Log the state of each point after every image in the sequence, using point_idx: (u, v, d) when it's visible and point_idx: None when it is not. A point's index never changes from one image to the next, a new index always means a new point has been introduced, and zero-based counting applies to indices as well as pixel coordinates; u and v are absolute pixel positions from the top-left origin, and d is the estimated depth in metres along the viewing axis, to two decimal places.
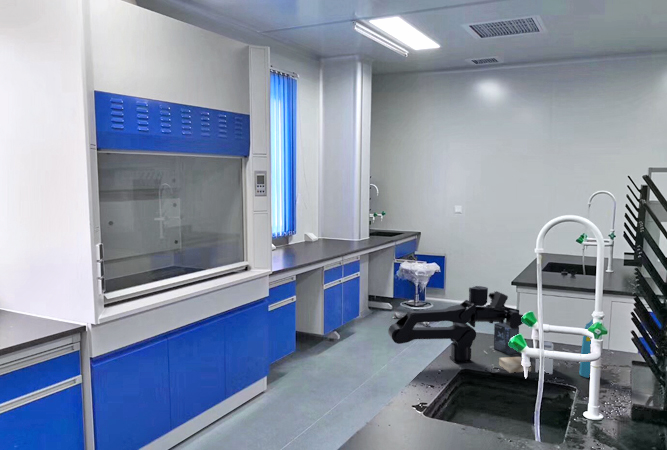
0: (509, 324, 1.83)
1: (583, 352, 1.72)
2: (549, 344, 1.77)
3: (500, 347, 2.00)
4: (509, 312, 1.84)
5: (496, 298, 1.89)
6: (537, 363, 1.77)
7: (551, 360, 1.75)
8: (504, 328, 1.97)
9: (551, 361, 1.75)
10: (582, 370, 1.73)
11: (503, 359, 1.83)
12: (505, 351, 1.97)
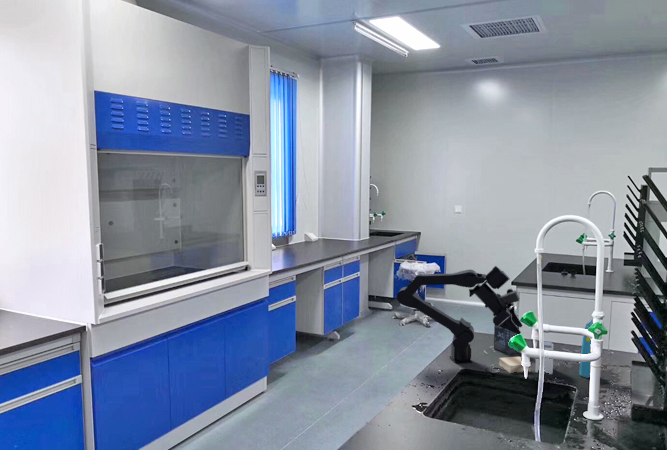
0: (494, 317, 1.77)
1: (583, 352, 1.72)
2: (549, 344, 1.77)
3: (500, 347, 2.00)
4: (504, 309, 1.77)
5: (508, 294, 1.82)
6: (537, 363, 1.77)
7: (551, 360, 1.75)
8: (504, 328, 1.97)
9: (551, 361, 1.75)
10: (582, 370, 1.73)
11: (503, 359, 1.83)
12: (505, 351, 1.97)
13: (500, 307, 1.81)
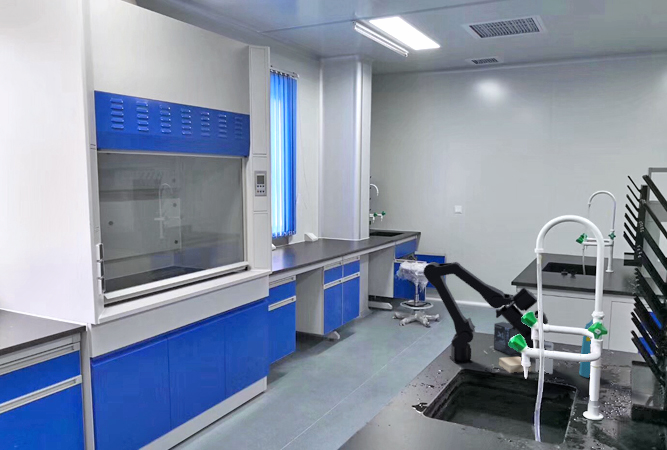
0: None
1: (583, 352, 1.72)
2: (549, 344, 1.77)
3: (500, 347, 2.00)
4: None
5: (537, 316, 1.78)
6: (537, 363, 1.77)
7: (551, 360, 1.75)
8: (504, 328, 1.97)
9: (551, 361, 1.75)
10: (582, 370, 1.73)
11: (503, 359, 1.83)
12: (505, 351, 1.97)
13: (528, 329, 1.78)
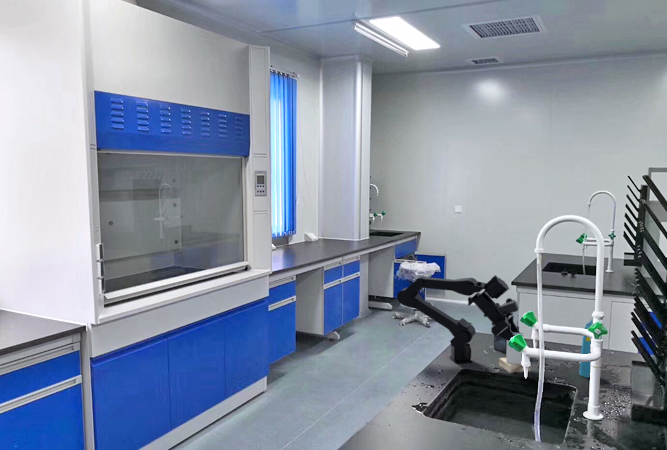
0: (493, 326, 1.76)
1: (583, 352, 1.72)
2: None
3: (500, 347, 2.00)
4: (503, 319, 1.76)
5: (507, 303, 1.81)
6: (508, 354, 1.80)
7: None
8: None
9: None
10: (582, 370, 1.73)
11: (503, 359, 1.83)
12: (505, 351, 1.97)
13: (499, 317, 1.80)
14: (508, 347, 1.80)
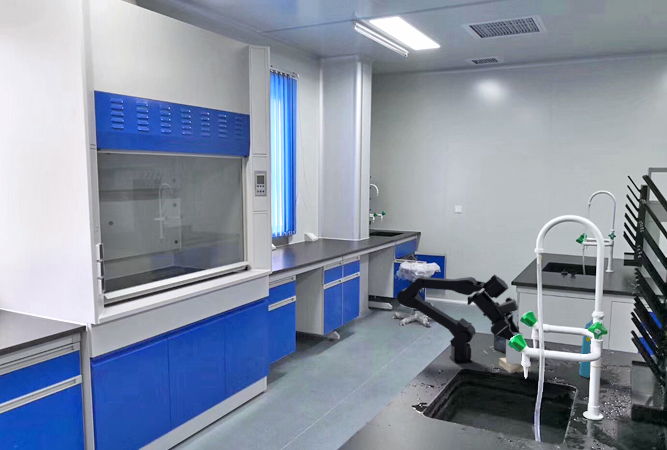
0: (492, 326, 1.76)
1: (583, 352, 1.72)
2: None
3: (500, 347, 2.00)
4: (502, 318, 1.76)
5: (507, 303, 1.81)
6: (507, 354, 1.80)
7: None
8: None
9: None
10: (582, 370, 1.73)
11: (503, 359, 1.83)
12: (505, 351, 1.97)
13: (498, 316, 1.80)
14: (507, 347, 1.79)
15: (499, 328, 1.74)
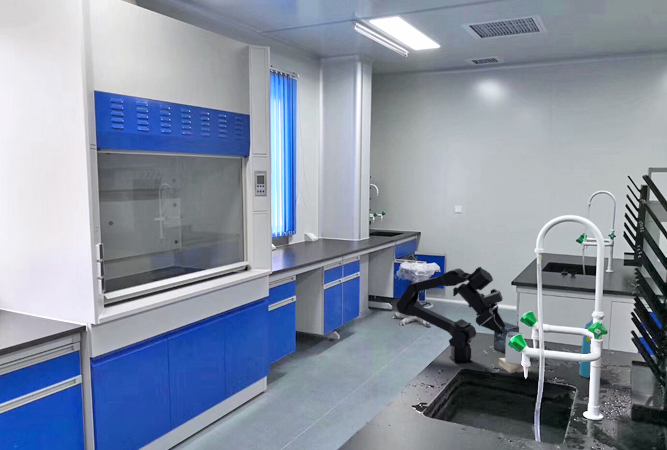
0: (477, 316, 1.78)
1: (583, 352, 1.72)
2: None
3: (500, 347, 2.00)
4: (487, 309, 1.78)
5: (492, 294, 1.83)
6: (507, 353, 1.80)
7: None
8: (504, 328, 1.97)
9: None
10: (582, 370, 1.73)
11: (503, 359, 1.83)
12: None
13: (483, 307, 1.82)
14: (507, 346, 1.80)
15: (484, 319, 1.76)
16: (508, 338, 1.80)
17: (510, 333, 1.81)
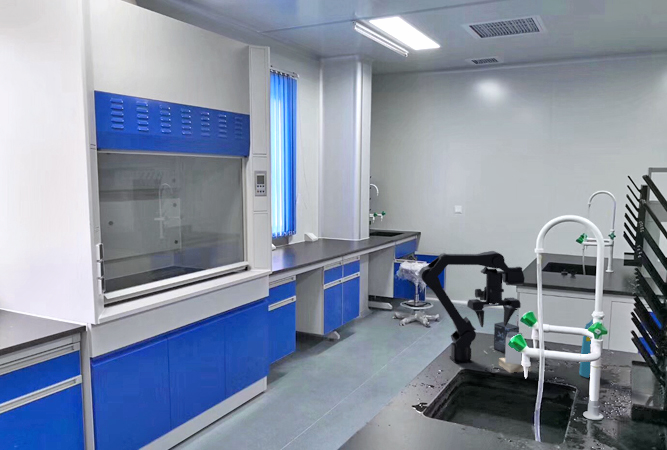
0: (516, 299, 1.88)
1: (583, 352, 1.72)
2: None
3: (500, 347, 2.00)
4: None
5: None
6: (507, 354, 1.80)
7: None
8: (504, 328, 1.97)
9: (520, 352, 1.78)
10: (582, 370, 1.73)
11: (503, 359, 1.83)
12: None
13: None
14: (507, 347, 1.80)
15: None
16: (508, 339, 1.79)
17: (510, 334, 1.81)
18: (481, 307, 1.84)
